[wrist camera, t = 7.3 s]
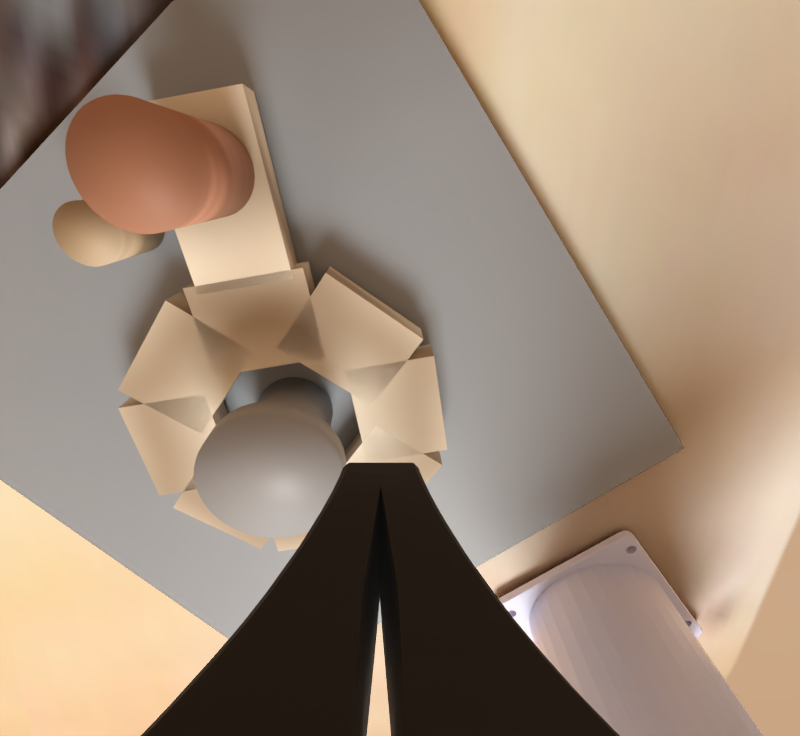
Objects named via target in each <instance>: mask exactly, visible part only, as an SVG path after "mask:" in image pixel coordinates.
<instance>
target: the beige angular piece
mask: <svg viewBox="0 0 800 736" xmlns="http://www.w3.org/2000/svg"><path fill="white" fill-rule="evenodd" d="M65 154H66V162H67V166H68V170H69V173H70V176H71V179H72V181H73V183H74V185H75V187H76V189H77V191H78V192H79V194H80V195H81V197H82V198H83V199H84V201H85V202H86V203H87V204H88V206H89V207H90V208H91V209H92V210H93V211H94V212H95V213H97V214H98V215H99V216H100V217H101V218H103V219H104V220H106V221H107V222H108V223H110V224H112V225H114V226H116V227H118V228H120V229H123V230H125V231H129V232H132V233H138V234H157V233H161V232H165V231H169V230H173V229H175V232H176V235H177V238H178V240H179V243H180V246H181V249H182V252H183V255H184V258H185V260H186V263H187V266H188V269H189V272H190V275H191V277H192V280H193V283H192V284H190V285H188V286H186V287H184V288H183V291H184V293H185V294H184V293H182V292H179V293H178V294H176V295H174V296H172V297H171V298H169V299H167V300H165V302H164V304H163V306H162V308H161V310H160V312H159V313H158V315H157V317H156V319H155V321H154V323H153V325H152V327H151V329H150V330H149V332H148V334H147V336H146V338H145V340H144V342H143V344H142V346H141V347H140V349H139V351H138V353H137V355H136V357H135V359H134V361H133V362H132V364H131V366H130V368H129V370H128V372H127V374H126V376H125V378H124V379H123V381H122V383H121V385H120V387H119V389H118V391H120V392H122V393H124V394H126V395H128V396H130V398H129V399H128V400H127V401H126V402H125V403H123V404H122V405H121V406H120V407H119V408H118V409H119V411H120V413H121V415H122V418H123V420H124V422H125V424H126V426H127V428H128V430H129V432H130V434H131V437H132V439H133V441H134V443H135V445H136V447H137V449H138V451H139V453H140V455H141V458H142V460H143V462H144V464H145V466H146V468H147V470H148V472H149V474H150V476H151V479H152V481H153V483H154V485H155V487H156V489H157V491H158V493H159V495H165V494H171V493H178V492H182V494H181V495H180V497H179V499H178V500H177V502H176V503H175V505H174V506H173V508H174V509H176V510H179V511H181V512H183V513H185V514H187V515H189V516H191V517H194V518H196V519H198V520H200V521H202V522H204V523H206V524H209V525H211V526H213V527H215V528H217V529H219V530H221V531H223V532H226V533H228V534H230V535H232V536H234V537H236V538H238V539H241V540H243V541H245V542H247V543H249V544H251V545H253V546H255V547H258V548H260V549H261V548H262V547H263V546H264V545H265V543H266V542H267V541H268V539H269V538H266V537H258V536H254V535H250V534H247V533H244V532H241V531H238V530H236V529H234V528H232V527H230V526H229V525H227V524H225V523H224V522H222V521H221V520H220V519H218V518H217V517H216V516H215V515H214V514H213V513H211V511H210V510H209V509H208V508H207V507H206V506H205V504H204V503H203V501H202V499H201V498H200V496H199V493H198V491H197V488H196V485H195V480H194V465H195V460H196V457H197V454H198V452H199V450H200V448H201V446H202V445H203V443H204V442H205V440H206V439H207V437H208V436H209V434H210V433H211V431H212V430H213V428H214V427H215V426H216V425H217V423H218V422H219V421H220V420H221V419H222V418H223V417H224V416H226V415H227V414H228V413H227V410H226V408H225V405H224V402H223V400H224V399H225V397H226V396H227V394H228V392H229V391H230V389H231V388H232V386H233V385H234V383H235V381H236V380H237V378H238V377H239V375H240V374H241V372H244V371H250V370H256V369H262V368H268V367H274V366H280V365H286V364H292V363H298V362H300V363H302V364H303V365H305V366H307V367H308V368H310V369H312V370H313V371H315V372H317V373H318V374H320V375H321V376H323V377H325V378H326V379H328V380H330V381H331V382H333V383H335V384H336V385H338V386H340V387H341V388H343V389H345V390H346V391H348V392H349V393H351V396H352V400H353V405H354V409H355V413H356V417H357V422H358V426H359V430H360V432H359V433H358V434H357V436H356V437H355V438H354V439H353V441H352V442H351V443H350V445H349V446H348V447H347V448H346V450H345V451H344V452H345V457H346V465H347V464H348V463H414V464H415V465H416V466H417V467H418V468H419V470H420V473H421V475H422V478H423V480H424V482H425V484H426V483H427V482H428V481H429V480H430V478H431V477H432V476H433V475H434V474H435V473H436V472H437V471H438V469H439V468H440V467H441V466H442V461H441V456H440V452H439V451H442V450H447V443H446V436H445V429H444V422H443V415H442V408H441V401H440V394H439V387H438V380H437V373H436V366H435V358H434V354H433V350H432V347H431V344H430V345H424V346H419V345H420V343H421V342H422V341H423V335H422V332H421V328H419V327H418V326H416V325H415V324H413V323H412V322H410V321H409V320H407V319H406V318H405V317H403V316H402V315H400V314H399V313H397V312H396V311H394V310H393V309H391V308H390V307H389V306H387V305H386V304H384V303H383V302H381V301H380V300H378V299H377V298H375V297H374V296H372V295H371V294H370V293H368V292H367V291H365V290H364V289H362V288H361V287H359V286H358V285H356V284H355V283H354V282H352V281H351V280H349V279H348V278H346V277H345V276H343V275H342V274H340V273H339V272H338V271H336V270H335V269H333V268H332V267H330V266H329V268H328V269H327V271H326V273H325V274H324V276H323V277H322V279H321V280H320V282H319V283H318V285H317V286H316V288H315V286H314V282H313V278H312V274H311V270H310V265H309V261H308V262H302V263H297V260H296V256H295V252H294V248H293V244H292V240H291V236H290V232H289V229H288V225H287V221H286V217H285V213H284V209H283V205H282V201H281V197H280V193H279V189H278V185H277V181H276V177H275V173H274V169H273V165H272V161H271V157H270V153H269V149H268V145H267V142H266V138H265V134H264V130H263V126H262V122H261V118H260V114H259V110H258V106H257V102H256V98H255V94H254V91H252V90H251V89H249V88H248V87H247V86H245V85H244V84H238V85H232V86H227V87H221V88H216V89H211V90H205V91H200V92H194V93H189V94H184V95H178V96H173V97H167V98H162V99H157V100H151V101H145V100H142V99H139V98H136V97H133V96H128V95H119V94H113V95H105V96H101V97H98V98H96V99H94V100H91V101H90V102H88V103H87V104H85V105H84V106H83V107H82V108H81V109H80V110H79V111H78V112H77V113H76V115H75V116H74V117H73V119H72V121H71V123H70V125H69V128H68V131H67V135H66V142H65ZM308 532H309V531H308ZM308 532H306V533H303V534H300V535H296V536H291V537H284V538H274V541H275V543H276V546H277V549H278V552H279V551H285V550H292V549H298V547H299V546H300V544H301V543H302V541H303V540H304V538H305V536H306V535H307V533H308Z"/></svg>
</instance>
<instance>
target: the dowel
mask: <svg viewBox="0 0 800 736" xmlns="http://www.w3.org/2000/svg"><path fill="white" fill-rule="evenodd" d="M52 227H53V233H54V236H55V239H56V241H57V243H58V245H59V246H60V248H61V249H62V250H63V251H64V252H65V253H66V254H67V255H68V256H69V257H70V258H72V259H73V260H75V261H76V262H78V263H81V264H83V265H86V266H92V267H98V266H104V265H107V264H110V263H113V262H117V261H120V260H123V259H126V258H129V257H133V256H136V255H139V254H142V253H146V252H149V251H152V250H154V249H156V248H157V247H158V246H159V245H160V244H161V243H162V241H163V239H164V235H165V232H161V233H157V234H138V233H132V232H129V231H125V230H123V229H120V228H118V227H116V226H114V225H112V224H110V223H108V222H107V221H106V220H104V219H103V218H101V217H100V216H99V215H98V214H97V213H95V212H94V211H93V210H92V209H91V208H90V207H89V206H88V204H87V203H86V202H85V201H84V200H73V201H69V202H66V203H64V204H63V205H61V206H60V207H59V208H58V209H57V211H56V212H55V214H54V217H53V224H52Z"/></svg>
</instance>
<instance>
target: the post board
mask: <svg viewBox="0 0 800 736" xmlns="http://www.w3.org/2000/svg"><path fill="white" fill-rule="evenodd" d="M238 84H244V85H245V86H247V87H248V88H249V89H251V90H252V91H254V94H255V98H256V102H257V106H258V110H259V114H260V118H261V122H262V126H263V130H264V134H265V138H266V142H267V145H268V149H269V153H270V157H271V161H272V165H273V169H274V173H275V177H276V181H277V185H278V189H279V193H280V197H281V201H282V205H283V209H284V213H285V217H286V221H287V225H288V229H289V232H290V236H291V240H292V244H293V248H294V252H295V256H296V260H297V263H302V262H308V261H309V265H310V270H311V274H312V278H313V282H314V286H315V288H316V286H317V285H318V283H319V282H320V280H321V279H322V277H323V276H324V274H325V273H326V271H327V269H328V268H329V266H330V267H332V268H333V269H335V270H336V271H338V272H339V273H340V274H342V275H343V276H345V277H346V278H348V279H349V280H351V281H352V282H354V283H355V284H356V285H358V286H359V287H361V288H362V289H364V290H365V291H367V292H368V293H370V294H371V295H372V296H374V297H375V298H377V299H378V300H380V301H381V302H383V303H384V304H386V305H387V306H389V307H390V308H391V309H393V310H394V311H396V312H397V313H399V314H400V315H402V316H403V317H405V318H406V319H407V320H409V321H410V322H412V323H413V324H415V325H416V326H418V327H419V328H421V332H422V335H423V341H422V342H421V343H420V345H419V346H424V345H430V344H431V347H432V350H433V354H434V358H435V366H436V373H437V380H438V387H439V394H440V401H441V408H442V415H443V422H444V429H445V436H446V443H447V450H442V451H439V452H440V456H441V461H442V466H441V467H440V468H439V469H438V471H437V472H436V473H435V474H434V475H433V476H432V477H431V478H430V480H429V481H428V482H427V483H426V486H427V488H428V490H429V492H430V494H431V496H432V498H433V500H434V502H435V504H436V505H437V507H438V509H439V511H440V513H441V514H442V516H443V518H444V519H445V521H446V523H447V524H448V526H449V528H450V529H451V531H452V532H453V534H454V536H455V537H456V539H457V540H458V542H459V543H460V545H461V547H462V548H463V550H464V551H465V553H466V554H467V556H468V557H469V559H470V560H471V562H472V563H473V565H474V566H475V567H477V566H479V565H481V564H482V563H484V562H486V561H488V560H489V559H491V558H493V557H495V556H496V555H498V554H500V553H502V552H503V551H505V550H507V549H509V548H510V547H512V546H514V545H516V544H517V543H519V542H521V541H523V540H524V539H526V538H528V537H530V536H531V535H533V534H535V533H537V532H538V531H540V530H542V529H544V528H545V527H547V526H549V525H551V524H552V523H554V522H556V521H558V520H559V519H561V518H563V517H565V516H566V515H568V514H570V513H572V512H573V511H575V510H577V509H578V508H580V507H582V506H584V505H585V504H587V503H589V502H591V501H592V500H594V499H596V498H598V497H599V496H601V495H603V494H605V493H606V492H608V491H610V490H612V489H613V488H615V487H617V486H619V485H620V484H622V483H624V482H626V481H627V480H629V479H631V478H633V477H634V476H636V475H638V474H640V473H641V472H643V471H645V470H647V469H648V468H650V467H652V466H654V465H655V464H657V463H659V462H661V461H662V460H664V459H666V458H667V457H669V456H671V455H673V454H674V453H676V452H678V451H680V450H681V449H683V448H684V446H683V445H682V443H681V441H680V440H679V438H678V436H677V434H676V433H675V431H674V429H673V428H672V426H671V424H670V423H669V421H668V419H667V418H666V416H665V414H664V413H663V411H662V409H661V407H660V406H659V404H658V402H657V401H656V399H655V397H654V396H653V394H652V392H651V391H650V389H649V387H648V386H647V384H646V382H645V381H644V379H643V377H642V375H641V374H640V372H639V370H638V369H637V367H636V365H635V364H634V362H633V360H632V359H631V357H630V355H629V354H628V352H627V350H626V349H625V347H624V345H623V343H622V342H621V340H620V338H619V337H618V335H617V333H616V332H615V330H614V328H613V327H612V325H611V323H610V322H609V320H608V318H607V317H606V315H605V313H604V311H603V310H602V308H601V306H600V305H599V303H598V301H597V300H596V298H595V296H594V295H593V293H592V291H591V290H590V288H589V286H588V285H587V283H586V281H585V279H584V278H583V276H582V274H581V273H580V271H579V269H578V268H577V266H576V264H575V263H574V261H573V259H572V258H571V256H570V254H569V253H568V251H567V249H566V247H565V246H564V244H563V242H562V241H561V239H560V237H559V236H558V234H557V232H556V231H555V229H554V227H553V226H552V224H551V222H550V221H549V219H548V217H547V215H546V214H545V212H544V210H543V209H542V207H541V205H540V204H539V202H538V200H537V199H536V197H535V195H534V194H533V192H532V190H531V189H530V187H529V185H528V183H527V182H526V180H525V178H524V177H523V175H522V173H521V172H520V170H519V168H518V167H517V165H516V163H515V162H514V160H513V158H512V156H511V155H510V153H509V151H508V150H507V148H506V146H505V145H504V143H503V141H502V140H501V138H500V136H499V135H498V133H497V131H496V130H495V128H494V126H493V124H492V123H491V121H490V119H489V118H488V116H487V114H486V113H485V111H484V109H483V108H482V106H481V104H480V103H479V101H478V99H477V98H476V96H475V94H474V92H473V91H472V89H471V87H470V86H469V84H468V82H467V81H466V79H465V77H464V76H463V74H462V72H461V71H460V69H459V67H458V66H457V64H456V62H455V60H454V59H453V57H452V55H451V54H450V52H449V50H448V49H447V47H446V45H445V44H444V42H443V40H442V39H441V37H440V35H439V34H438V32H437V30H436V28H435V27H434V25H433V23H432V22H431V20H430V18H429V17H428V15H427V13H426V12H425V10H424V8H423V7H422V5H421V3H420V2H419V0H173V1H172V2H171V3H170V4H169V6H168V7H167V8H166V9H165V10H164V11H163V12H162V13H161V14H160V15H159V17H158V18H157V19H156V20H155V21H154V22H153V23H152V24H151V25H150V26H149V27H148V29H147V30H146V31H145V32H144V33H143V34H142V35H141V36H140V37H139V38H138V39H137V41H136V42H135V43H134V44H133V45H132V46H131V47H130V48H129V49H128V50H127V51H126V53H125V54H124V55H123V56H122V57H121V58H120V59H119V60H118V61H117V62H116V63H115V65H114V66H113V67H112V68H111V69H110V70H109V71H108V72H107V73H106V74H105V75H104V77H103V78H102V79H101V80H100V81H99V82H98V83H97V84H96V85H95V86H94V88H93V89H92V90H91V91H90V92H89V93H88V94H87V95H86V96H85V97H84V98H83V100H82V101H81V102H80V103H79V104H78V105H77V106H76V107H75V108H74V109H73V110H72V112H71V113H70V114H69V115H68V116H67V117H66V118H65V119H64V120H63V121H62V122H61V124H60V125H59V126H58V127H57V128H56V129H55V130H54V131H53V132H52V133H51V134H50V136H49V137H48V138H47V139H46V140H45V141H44V142H43V143H42V144H41V145H40V146H39V148H38V149H37V150H36V151H35V152H34V153H33V154H32V155H31V156H30V157H29V158H28V160H27V161H26V162H25V163H24V164H23V165H22V166H21V167H20V168H19V169H18V171H17V172H16V173H15V174H14V175H13V176H12V177H11V178H10V179H9V180H8V181H7V183H6V184H5V185H4V186H3V187H2V188H1V189H0V480H2V481H3V482H4V483H6V484H7V485H9V486H10V487H12V488H13V489H14V490H16V491H17V492H19V493H20V494H22V495H23V496H25V497H26V498H27V499H29V500H30V501H32V502H33V503H35V504H36V505H37V506H39V507H40V508H42V509H43V510H45V511H46V512H47V513H49V514H50V515H52V516H53V517H55V518H56V519H57V520H59V521H60V522H62V523H63V524H65V525H66V526H68V527H69V528H70V529H72V530H73V531H75V532H76V533H78V534H79V535H80V536H82V537H83V538H85V539H86V540H88V541H89V542H90V543H92V544H93V545H95V546H96V547H98V548H99V549H101V550H102V551H103V552H105V553H106V554H108V555H109V556H111V557H112V558H113V559H115V560H116V561H118V562H119V563H121V564H122V565H123V566H125V567H126V568H128V569H129V570H131V571H132V572H133V573H135V574H136V575H138V576H139V577H141V578H142V579H144V580H145V581H146V582H148V583H149V584H151V585H152V586H154V587H155V588H156V589H158V590H159V591H161V592H162V593H164V594H165V595H166V596H168V597H169V598H171V599H172V600H174V601H175V602H177V603H178V604H179V605H181V606H182V607H184V608H185V609H187V610H188V611H189V612H191V613H192V614H194V615H195V616H197V617H198V618H199V619H201V620H202V621H204V622H205V623H207V624H208V625H209V626H211V627H212V628H214V629H215V630H217V631H218V632H220V633H221V634H222V635H224V636H225V637H227V638H228V639H229V638H230V637H231V636H232V635H233V634H234V632H235V631H236V630H237V629H238V628H239V626H240V625H241V624H242V623H243V622H244V620H245V619H246V618H247V617H248V615H249V614H250V613H251V612H252V610H253V609H254V608H255V606H256V605H257V604H258V603H259V601H260V600H261V599H262V597H263V596H264V595H265V594H266V592H267V591H268V590H269V588H270V587H271V585H272V584H273V583H274V581H275V580H276V578H277V577H278V576H279V574H280V573H281V571H282V570H283V569H284V567H285V566H286V564H287V563H288V562H289V560H290V559H291V557H292V556H293V555H294V553H295V552H296V550H297V549H292V550H285V551H279V552H278V549H277V546H276V543H275V541H274V538H284V537H291V536H296V535H300V534H303V533H306V532H308V531H309V530H310V528H311V527H312V525H313V524H314V522H315V520H316V519H317V517H318V516H319V514H320V512H321V511H322V509H323V507H324V505H325V504H326V502H327V500H328V498H329V496H330V495H331V493H332V491H333V489H334V487H335V485H336V483H337V481H338V478H339V476H340V474H341V471H342V469H343V467H344V466H345V465H346V457H345V452H344V451H345V450H346V448H347V447H348V446H349V445H350V443H351V442H352V441H353V439H354V438H355V437H356V436H357V434H358V433H359V432H360V430H359V426H358V422H357V417H356V413H355V409H354V405H353V400H352V396H351V393H349V392H348V391H346V390H345V389H343V388H341V387H340V386H338V385H336V384H335V383H333V382H331V381H330V380H328V379H326V378H325V377H323V376H321V375H320V374H318V373H317V372H315V371H313V370H312V369H310V368H308V367H307V366H305V365H303V364H302V363H300V362H298V363H292V364H286V365H280V366H274V367H268V368H262V369H256V370H250V371H244V372H241V374H240V375H239V377H238V378H237V380H236V381H235V383H234V385H233V386H232V388H231V389H230V391H229V392H228V394H227V396H226V397H225V399H224V400H223V402H224V405H225V408H226V410H227V413H228V414H227V415H226V416H224V417H223V418H222V419H221V420H220V421H219V422H218V423H217V425H216V426H215V427H214V428H213V430H212V431H211V433H210V434H209V436H208V437H207V439H206V440H205V442H204V443H203V445H202V446H201V448H200V450H199V452H198V454H197V457H196V460H195V465H194V480H195V485H196V488H197V491H198V493H199V496H200V498H201V499H202V501H203V503H204V504H205V506H206V507H207V508H208V509H209V510H210V511H211V513H213V514H214V515H215V516H216V517H217V518H218V519H220V520H221V521H222V522H224V523H225V524H227V525H229V526H230V527H232V528H234V529H236V530H238V531H241V532H244V533H247V534H250V535H254V536H258V537H266V538H269V539H268V541H267V542H266V543H265V545H264V546H263V547H262V548H261V549H260V548H258V547H255V546H253V545H251V544H249V543H247V542H245V541H243V540H241V539H238V538H236V537H234V536H232V535H230V534H228V533H226V532H223V531H221V530H219V529H217V528H215V527H213V526H211V525H209V524H206V523H204V522H202V521H200V520H198V519H196V518H194V517H191V516H189V515H187V514H185V513H183V512H181V511H179V510H176V509H174V508H173V506H174V505H175V503H176V502H177V500H178V499H179V497H180V495H181V494H182V492H178V493H171V494H165V495H159V493H158V491H157V489H156V487H155V485H154V483H153V481H152V479H151V476H150V474H149V472H148V470H147V468H146V466H145V464H144V462H143V460H142V458H141V455H140V453H139V451H138V449H137V447H136V445H135V443H134V441H133V439H132V437H131V434H130V432H129V430H128V428H127V426H126V424H125V422H124V420H123V418H122V415H121V413H120V411H119V409H118V408H119V407H120V406H121V405H122V404H123V403H125V402H126V401H127V400H128V399H129V398H130V396H128V395H126V394H124V393H122V392H120V391H118V389H119V387H120V385H121V383H122V381H123V379H124V378H125V376H126V374H127V372H128V370H129V368H130V366H131V364H132V362H133V361H134V359H135V357H136V355H137V353H138V351H139V349H140V347H141V346H142V344H143V342H144V340H145V338H146V336H147V334H148V332H149V330H150V329H151V327H152V325H153V323H154V321H155V319H156V317H157V315H158V313H159V312H160V310H161V308H162V306H163V304H164V302H165V300H167V299H169V298H171V297H172V296H174V295H176V294H178V293H179V292H182V293H184V291H183V288H184V287H186V286H188V285H190V284H192V283H193V280H192V277H191V275H190V272H189V269H188V266H187V263H186V260H185V258H184V255H183V252H182V249H181V246H180V243H179V240H178V238H177V235H176V232H175V229H173V230H169V231H165V235H164V239H163V241H162V243H161V244H160V245H159V246H158V247H157V248H156V249H154V250H152V251H149V252H146V253H142V254H139V255H136V256H133V257H129V258H126V259H123V260H120V261H117V262H113V263H110V264H107V265H104V266H98V267H92V266H86V265H83V264H81V263H78V262H76V261H75V260H73V259H72V258H70V257H69V256H68V255H67V254H66V253H65V252H64V251H63V250H62V249H61V248H60V246H59V245H58V243H57V241H56V239H55V236H54V233H53V227H52V224H53V217H54V214H55V212H56V211H57V209H58V208H59V207H60V206H61V205H63V204H64V203H66V202H69V201H73V200H84V199H83V198H82V197H81V195H80V194H79V192H78V191H77V189H76V187H75V185H74V183H73V181H72V179H71V176H70V173H69V170H68V166H67V162H66V154H65V142H66V135H67V131H68V128H69V125H70V123H71V121H72V119H73V117H74V116H75V115H76V113H77V112H78V111H79V110H80V109H81V108H82V107H83V106H84V105H85V104H87V103H88V102H90V101H91V100H94V99H96V98H98V97H101V96H105V95H113V94H119V95H128V96H133V97H136V98H139V99H142V100H145V101H151V100H157V99H162V98H167V97H173V96H178V95H184V94H189V93H194V92H200V91H205V90H211V89H216V88H221V87H227V86H232V85H238ZM184 294H185V293H184ZM381 621H382V619H381V607H380V602H379V613H378V623H380V622H381ZM378 623H377V624H378Z"/></svg>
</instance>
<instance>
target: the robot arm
mask: <svg viewBox="0 0 800 736" xmlns="http://www.w3.org/2000/svg"><path fill="white" fill-rule="evenodd" d="M629 546H630V547H629ZM379 602H380V607H381V619H382V631H383V643H384V655H385V667H386V679H387V691H388V703H389V714H390V726H391V736H763V735H762V733H761V732H760V730H759V729H758V728H757V726H756V725H755V723H754V722H753V720H752V719H751V717H750V716H749V714H748V713H747V711H746V710H745V708H744V707H743V706H742V704H741V703H740V701H739V700H738V698H737V697H736V695H735V694H734V692H733V691H732V690H731V688H730V687H729V685H728V684H727V682H726V681H725V679H724V678H723V676H722V675H721V674H720V672H719V671H718V669H717V668H716V666H715V665H714V663H713V662H712V660H711V659H710V657H709V656H708V655H707V653H706V652H705V650H704V649H703V647H702V646H701V644H700V643H699V641H698V640H697V639H696V638H698V637H699V636H700V635H701V633H702V629H701V627H700V626H699V625H698V623H697V622H696V620H695V619H694V618H693V616H692V615H691V614H690V612H689V611H688V609H687V608H686V607H685V605H684V604H683V603H682V601H681V600H680V598H679V597H678V596H677V594H676V593H675V591H674V590H673V589H672V587H671V586H670V585H669V583H668V582H667V580H666V579H665V578H664V576H663V575H662V574H661V572H660V571H659V569H658V568H657V567H656V565H655V564H654V563H653V561H652V560H651V558H650V557H649V556H648V554H647V553H646V551H645V550H644V549H643V547H642V546H641V545H640V543H639V542H638V540H637V539H636V538H635V536H634V535H633V534H632V533H631V532H630V531H621V532H619V533H617V534H615V535H613V536H611V537H610V538H608V539H606V540H604V541H602V542H600V543H599V544H597V545H595V546H593V547H591V548H589V549H588V550H586V551H584V552H582V553H580V554H579V555H577V556H575V557H573V558H571V559H569V560H568V561H566V562H564V563H562V564H560V565H558V566H557V567H555V568H553V569H551V570H549V571H547V572H546V573H544V574H542V575H540V576H538V577H537V578H535V579H533V580H531V581H529V582H527V583H526V584H524V585H522V586H520V587H518V588H516V589H515V590H513V591H511V592H509V593H507V594H505V595H504V596H502V597H500V598H499V599H498V598H497V596H496V595H495V594H494V592H493V591H492V590H491V588H490V587H489V585H488V584H487V583H486V581H485V580H484V579H483V577H482V576H481V574H480V573H479V572H478V570H477V569H476V567H475V566H474V565H473V563H472V562H471V560H470V559H469V557H468V556H467V554H466V553H465V551H464V550H463V548H462V547H461V545H460V543H459V542H458V540H457V539H456V537H455V536H454V534H453V532H452V531H451V529H450V528H449V526H448V524H447V523H446V521H445V519H444V518H443V516H442V514H441V513H440V511H439V509H438V507H437V505H436V504H435V502H434V500H433V498H432V496H431V494H430V492H429V490H428V488H427V486H426V484H425V482H424V480H423V478H422V475H421V473H420V470H419V468H418V467H417V466H416V465H415V464H414V463H348V464H347V465H345V466H344V467H343V469H342V471H341V474H340V476H339V478H338V481H337V483H336V485H335V487H334V489H333V491H332V493H331V495H330V496H329V498H328V500H327V502H326V504H325V505H324V507H323V509H322V511H321V512H320V514H319V516H318V517H317V519H316V520H315V522H314V524H313V525H312V527H311V528H310V530H309V532H308V533H307V535H306V536H305V538H304V540H303V541H302V543H301V544H300V546H299V547H298V549H297V550H296V552H295V553H294V555H293V556H292V557H291V559H290V560H289V562H288V563H287V564H286V566H285V567H284V569H283V570H282V571H281V573H280V574H279V576H278V577H277V578H276V580H275V581H274V583H273V584H272V585H271V587H270V588H269V590H268V591H267V592H266V594H265V595H264V596H263V597H262V599H261V600H260V601H259V603H258V604H257V605H256V606H255V608H254V609H253V610H252V612H251V613H250V614H249V615H248V617H247V618H246V619H245V620H244V622H243V623H242V624H241V625H240V626H239V628H238V629H237V630H236V631H235V632H234V634H233V635H232V636H231V637H230V638H229V640H228V641H227V642H226V643H225V644H224V645H223V647H222V648H221V649H220V650H219V651H218V653H217V654H216V655H215V656H214V657H213V658H212V659H211V660H210V662H209V663H208V664H207V665H206V666H205V667H204V668H203V669H202V670H201V672H200V673H199V674H198V675H197V676H196V677H195V678H194V679H193V680H192V682H191V683H190V684H189V685H188V686H187V687H186V688H185V689H184V690H183V691H182V693H181V694H180V695H179V696H178V697H177V698H176V699H175V700H174V701H173V703H172V704H171V705H170V706H169V707H168V708H167V709H166V710H165V711H164V712H163V713H162V714H161V715H160V716H159V717H158V718H157V720H156V721H155V722H154V723H153V724H152V725H151V726H150V727H149V728H148V729H147V730H146V731H145V732H144V733H143V734H142V735H141V736H366V735H367V725H368V715H369V704H370V694H371V684H372V674H373V664H374V654H375V643H376V633H377V623H378V613H379Z"/></svg>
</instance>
